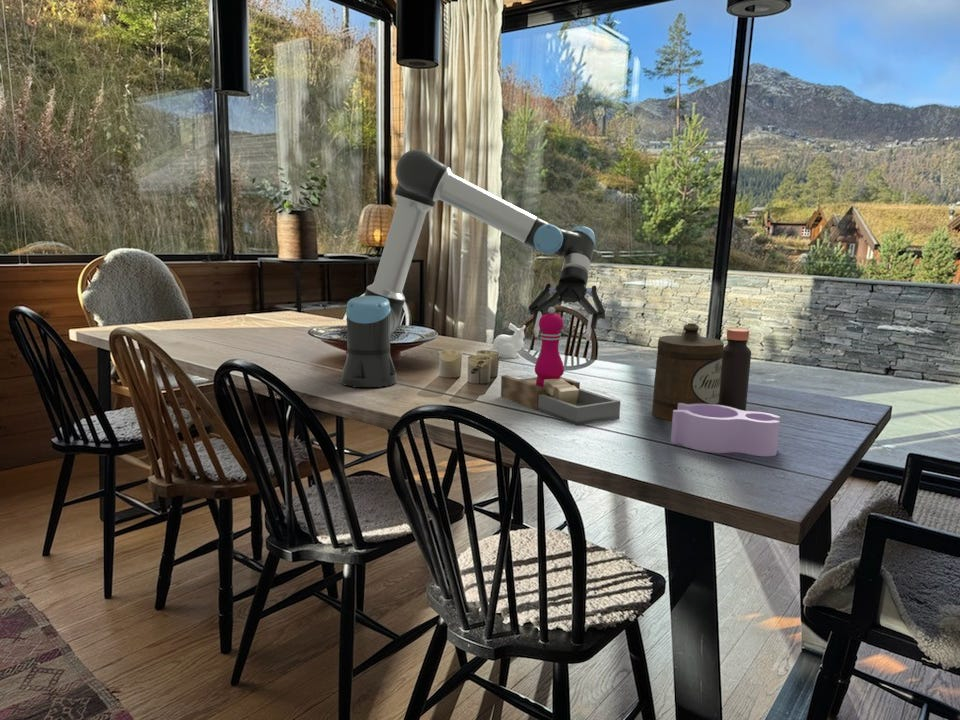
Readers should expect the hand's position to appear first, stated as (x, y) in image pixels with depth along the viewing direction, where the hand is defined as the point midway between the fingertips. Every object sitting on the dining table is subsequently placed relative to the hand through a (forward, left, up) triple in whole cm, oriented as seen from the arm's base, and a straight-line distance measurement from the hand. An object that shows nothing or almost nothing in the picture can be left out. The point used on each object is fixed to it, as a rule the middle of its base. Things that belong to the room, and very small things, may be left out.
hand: (561, 336), depth 174 cm
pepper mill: (+5, -7, -12) cm, 15 cm away
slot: (+2, -8, -16) cm, 18 cm away
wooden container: (+30, +14, -16) cm, 37 cm away
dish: (+17, -8, -16) cm, 24 cm away
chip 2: (+13, -9, -12) cm, 20 cm away
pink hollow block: (+49, +3, -16) cm, 52 cm away
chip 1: (+10, -9, -12) cm, 18 cm away
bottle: (+33, +27, -16) cm, 45 cm away
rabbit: (-51, +20, -16) cm, 57 cm away
